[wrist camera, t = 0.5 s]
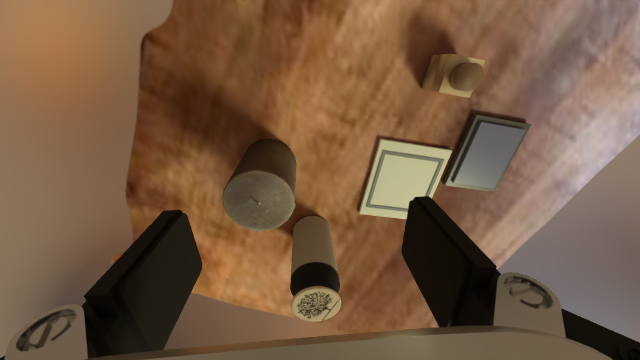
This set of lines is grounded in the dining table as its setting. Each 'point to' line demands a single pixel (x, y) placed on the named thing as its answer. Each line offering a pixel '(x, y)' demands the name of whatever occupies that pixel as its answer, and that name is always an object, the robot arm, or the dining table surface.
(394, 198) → the board
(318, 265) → the travel mug
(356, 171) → the dining table surface
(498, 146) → the grey flat block
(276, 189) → the pillar candle
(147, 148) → the dining table surface
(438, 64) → the stamp
